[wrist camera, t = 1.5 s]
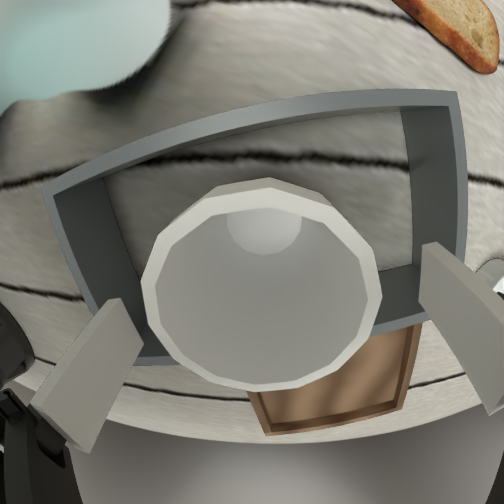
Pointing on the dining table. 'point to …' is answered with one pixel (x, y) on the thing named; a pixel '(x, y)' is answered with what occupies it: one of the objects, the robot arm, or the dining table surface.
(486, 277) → the ramekin
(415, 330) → the walnut tray
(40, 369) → the dining table surface
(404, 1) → the bread slice
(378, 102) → the deep open rectangular frame
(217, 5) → the dining table surface
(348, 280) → the foam cup
